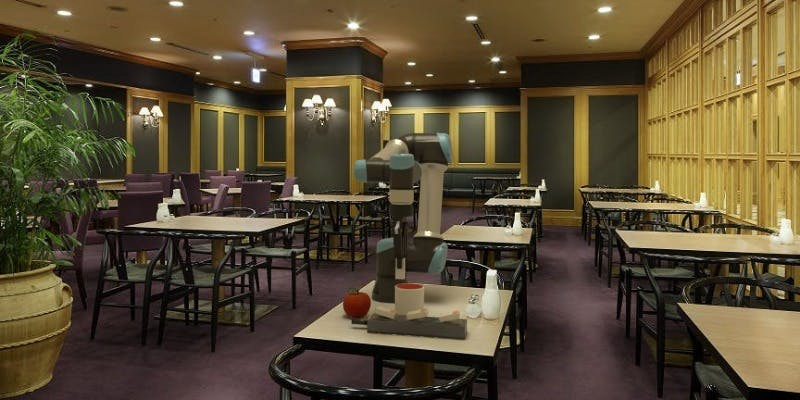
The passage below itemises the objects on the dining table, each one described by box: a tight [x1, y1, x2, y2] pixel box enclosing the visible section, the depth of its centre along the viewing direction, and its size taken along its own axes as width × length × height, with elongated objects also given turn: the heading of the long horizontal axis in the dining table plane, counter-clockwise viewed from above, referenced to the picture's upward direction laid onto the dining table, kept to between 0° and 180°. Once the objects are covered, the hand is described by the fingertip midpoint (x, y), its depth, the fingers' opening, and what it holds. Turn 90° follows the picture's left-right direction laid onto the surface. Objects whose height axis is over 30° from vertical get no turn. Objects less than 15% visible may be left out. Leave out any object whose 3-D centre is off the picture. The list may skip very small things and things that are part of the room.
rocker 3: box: [438, 310, 461, 322], centre depth 179 cm, size 4×6×2 cm, turn 79°
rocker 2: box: [407, 308, 429, 320], centre depth 181 cm, size 4×6×2 cm, turn 79°
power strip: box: [351, 312, 468, 341], centre depth 182 cm, size 8×36×4 cm, turn 79°
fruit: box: [342, 287, 372, 319], centre depth 198 cm, size 10×10×10 cm
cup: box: [394, 282, 425, 315], centre depth 201 cm, size 10×10×10 cm
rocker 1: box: [374, 305, 397, 319], centre depth 183 cm, size 4×6×2 cm, turn 79°
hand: (400, 278), depth 183 cm, fingers closed
